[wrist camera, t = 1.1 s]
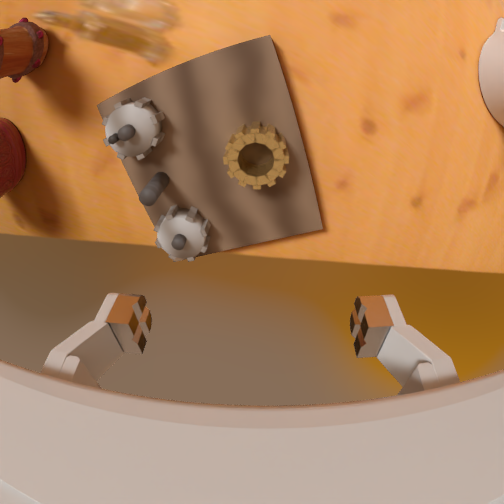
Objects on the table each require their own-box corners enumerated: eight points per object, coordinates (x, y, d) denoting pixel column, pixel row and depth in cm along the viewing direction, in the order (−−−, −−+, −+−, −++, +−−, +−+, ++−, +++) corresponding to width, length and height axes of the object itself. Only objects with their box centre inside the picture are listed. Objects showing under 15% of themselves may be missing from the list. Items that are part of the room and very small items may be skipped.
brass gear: (277, 114, 29) (278, 121, 27) (293, 168, 33) (295, 180, 30) (219, 131, 31) (214, 139, 28) (238, 182, 34) (235, 195, 32)
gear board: (270, 36, 26) (270, 30, 20) (320, 220, 39) (328, 252, 33) (104, 102, 30) (73, 114, 25) (177, 253, 44) (164, 285, 38)
